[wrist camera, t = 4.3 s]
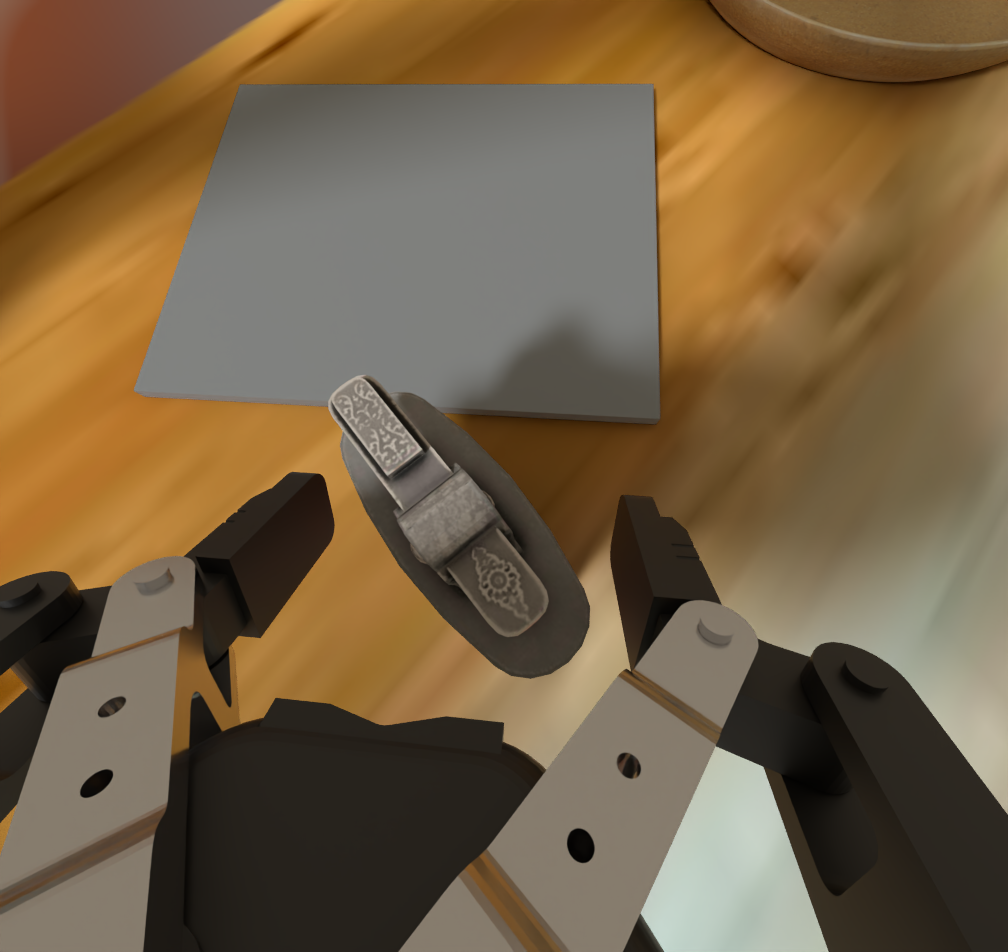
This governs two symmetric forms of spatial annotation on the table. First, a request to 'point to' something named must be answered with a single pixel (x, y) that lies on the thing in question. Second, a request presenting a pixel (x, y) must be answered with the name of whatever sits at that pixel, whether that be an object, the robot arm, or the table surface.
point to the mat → (424, 252)
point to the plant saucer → (876, 35)
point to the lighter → (461, 529)
